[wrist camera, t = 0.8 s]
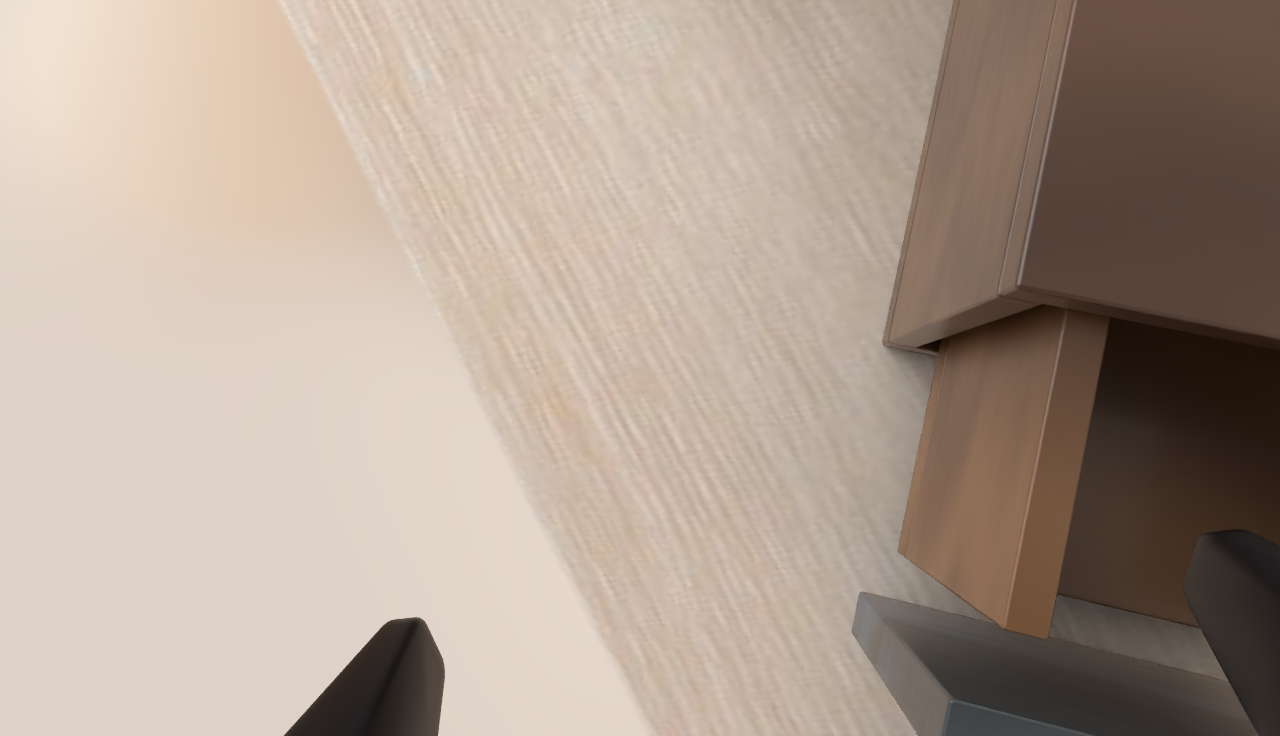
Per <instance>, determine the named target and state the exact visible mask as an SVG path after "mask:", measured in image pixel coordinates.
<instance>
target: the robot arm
mask: <svg viewBox="0 0 1280 736" xmlns="http://www.w3.org/2000/svg"><path fill="white" fill-rule="evenodd" d="M1184 594H1185V598H1186V601H1187V604H1188V606H1189V608H1190V610H1191V612H1192V613H1193V615H1194V617H1195V619H1196V621H1197V623H1198V625H1199V627H1200V628H1201V630H1202V632H1203V634H1204V636H1205V638H1206V640H1207V641H1208V643H1209V645H1210V647H1211V649H1212V651H1213V653H1214V655H1215V656H1216V658H1217V660H1218V662H1219V664H1220V666H1221V668H1222V670H1223V671H1224V673H1225V675H1226V677H1227V679H1228V681H1229V683H1230V684H1231V686H1232V688H1233V690H1234V692H1235V694H1236V696H1237V698H1238V699H1239V701H1240V703H1241V705H1242V707H1243V709H1244V711H1245V712H1246V714H1247V716H1248V718H1249V720H1250V721H1251V723H1252V725H1253V727H1254V728H1255V730H1256V732H1257V734H1258V735H1259V736H1280V546H1279V545H1277V544H1275V543H1273V542H1271V541H1269V540H1267V539H1265V538H1263V537H1261V536H1259V535H1257V534H1255V533H1252V532H1250V531H1247V530H1241V529H1235V530H1225V531H1216V532H1208V533H1205V534H1203V535H1202V536H1201V537H1200V538H1199V539H1198V541H1197V543H1196V546H1195V549H1194V552H1193V555H1192V558H1191V562H1190V565H1189V568H1188V571H1187V574H1186V577H1185V581H1184ZM444 678H445V668H444V662H443V659H442V656H441V654H440V652H439V650H438V647H437V645H436V643H435V641H434V639H433V637H432V635H431V633H430V631H429V629H428V626H427V624H426V623H425V621H424V620H422V619H421V618H417V617H415V618H406V619H396V620H391V621H389V622H387V623H386V624H385V625H383V627H381V629H380V630H379V631H378V632H377V633H376V634H375V635H374V636H373V638H371V640H370V641H369V642H368V643H367V644H366V645H365V646H364V647H363V648H362V650H361V651H360V652H359V653H358V654H357V655H356V656H355V657H354V658H353V660H352V661H351V662H350V663H349V664H348V665H347V666H346V667H345V669H344V670H343V671H342V672H341V673H340V674H339V675H338V676H337V677H336V678H335V680H334V681H333V682H332V683H331V684H330V685H329V686H328V687H327V688H326V690H325V691H324V692H323V693H322V694H321V695H320V696H319V697H318V698H317V700H316V701H315V702H314V703H313V704H312V705H311V706H310V708H308V709H307V711H306V712H305V713H304V714H303V715H302V716H301V717H300V719H298V721H297V722H296V723H295V724H294V725H293V726H292V727H291V729H289V731H288V732H287V733H286V734H285V735H284V736H438V730H439V721H440V713H441V704H442V696H443V688H444Z"/></svg>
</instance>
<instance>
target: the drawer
mask: <svg viewBox="0 0 1280 736" xmlns="http://www.w3.org/2000/svg"><path fill="white" fill-rule="evenodd" d="M1235 529H1241V530H1247V531H1250V532H1252V533H1255V534H1257V535H1259V536H1261V537H1263V538H1265V539H1267V540H1269V541H1271V542H1273V543H1275V544H1277V545H1279V546H1280V350H1276V349H1271V348H1266V347H1261V346H1255V345H1250V344H1245V343H1240V342H1235V341H1230V340H1225V339H1220V338H1215V337H1210V336H1204V335H1199V334H1194V333H1189V332H1184V331H1179V330H1174V329H1169V328H1164V327H1158V326H1153V325H1148V324H1143V323H1138V322H1133V321H1128V320H1123V319H1118V318H1113V317H1107V316H1102V315H1097V314H1092V313H1087V312H1082V311H1077V310H1072V309H1067V308H1061V307H1056V306H1051V305H1046V304H1041V305H1038V306H1036V307H1033V308H1030V309H1027V310H1024V311H1021V312H1018V313H1015V314H1012V315H1009V316H1006V317H1003V318H1000V319H998V320H995V321H992V322H989V323H986V324H983V325H980V326H977V327H974V328H971V329H968V330H965V331H962V332H960V333H957V334H954V335H951V336H948V337H945V338H942V339H941V342H940V347H939V352H938V357H937V362H936V367H935V372H934V376H933V381H932V386H931V391H930V396H929V401H928V406H927V410H926V415H925V420H924V425H923V430H922V435H921V440H920V444H919V449H918V454H917V459H916V464H915V469H914V474H913V478H912V483H911V488H910V493H909V498H908V503H907V508H906V513H905V517H904V522H903V527H902V532H901V537H900V542H899V547H898V553H900V554H901V555H902V556H904V557H905V558H907V559H908V560H910V561H911V562H912V563H914V564H915V565H916V566H918V567H919V568H920V569H922V570H923V571H925V572H926V573H927V574H929V575H930V576H931V577H933V578H934V579H936V580H937V581H938V582H940V583H941V584H942V585H944V586H945V587H946V588H948V589H949V590H951V591H952V592H953V593H955V594H956V595H957V596H959V597H960V598H962V599H963V600H964V601H966V602H967V603H968V604H970V605H971V606H972V607H974V608H975V609H977V610H978V611H979V612H981V613H982V614H983V615H985V616H986V617H987V618H989V619H990V620H992V621H993V622H994V623H996V624H993V623H989V622H984V621H980V620H976V619H972V618H968V617H964V616H960V615H956V614H952V613H948V612H944V611H940V610H936V609H932V608H928V607H923V606H919V605H915V604H911V603H907V602H903V601H899V600H895V599H891V598H887V597H883V596H879V595H875V594H871V593H867V592H860V594H859V598H858V602H857V607H856V612H855V617H854V622H853V627H852V633H853V635H854V636H855V638H856V640H857V641H858V643H859V644H860V646H861V647H862V649H863V650H864V652H865V654H866V655H867V657H868V658H869V660H870V661H871V663H872V664H873V666H874V667H875V669H876V671H877V672H878V674H879V675H880V677H881V678H882V680H883V681H884V683H885V685H886V686H887V688H888V689H889V691H890V692H891V694H892V695H893V697H894V699H895V700H896V702H897V703H898V705H899V706H900V708H901V709H902V711H903V712H904V714H905V716H906V717H907V719H908V720H909V722H910V723H911V725H912V726H913V728H914V730H915V731H916V733H917V734H918V736H1259V735H1258V734H1257V732H1256V730H1255V728H1254V727H1253V725H1252V723H1251V721H1250V720H1249V718H1248V716H1247V714H1246V712H1245V711H1244V709H1243V707H1242V705H1241V703H1240V701H1239V699H1238V698H1237V696H1236V694H1235V692H1234V690H1233V688H1232V686H1231V684H1230V683H1229V682H1228V681H1224V680H1220V679H1216V678H1212V677H1208V676H1204V675H1200V674H1196V673H1192V672H1188V671H1184V670H1180V669H1176V668H1171V667H1167V666H1163V665H1159V664H1155V663H1151V662H1147V661H1143V660H1139V659H1135V658H1131V657H1127V656H1123V655H1119V654H1115V653H1110V652H1106V651H1102V650H1098V649H1094V648H1090V647H1086V646H1082V645H1078V644H1074V643H1070V642H1066V641H1062V640H1058V639H1054V638H1049V632H1050V627H1051V621H1052V616H1053V611H1054V606H1055V601H1056V596H1057V594H1058V595H1063V596H1067V597H1071V598H1075V599H1079V600H1083V601H1088V602H1092V603H1096V604H1100V605H1104V606H1109V607H1113V608H1117V609H1121V610H1125V611H1129V612H1134V613H1138V614H1142V615H1146V616H1150V617H1154V618H1159V619H1163V620H1167V621H1171V622H1175V623H1180V624H1184V625H1188V626H1192V627H1196V628H1200V627H1199V625H1198V623H1197V621H1196V619H1195V617H1194V615H1193V613H1192V612H1191V610H1190V608H1189V606H1188V604H1187V601H1186V598H1185V594H1184V581H1185V577H1186V574H1187V571H1188V568H1189V565H1190V562H1191V558H1192V555H1193V552H1194V549H1195V546H1196V543H1197V541H1198V539H1199V538H1200V537H1201V536H1202V535H1203V534H1205V533H1208V532H1216V531H1225V530H1235ZM1200 629H1201V628H1200Z"/></svg>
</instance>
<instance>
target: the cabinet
mask: <svg viewBox="0 0 1280 736" xmlns="http://www.w3.org/2000/svg"><path fill="white" fill-rule="evenodd" d="M1041 304H1046V305H1051V306H1056V307H1061V308H1067V309H1072V310H1077V311H1082V312H1087V313H1092V314H1097V315H1102V316H1107V317H1113V318H1118V319H1123V320H1128V321H1133V322H1138V323H1143V324H1148V325H1153V326H1158V327H1164V328H1169V329H1174V330H1179V331H1184V332H1189V333H1194V334H1199V335H1204V336H1210V337H1215V338H1220V339H1225V340H1230V341H1235V342H1240V343H1245V344H1250V345H1255V346H1261V347H1266V348H1271V349H1276V350H1280V0H954V2H953V7H952V12H951V17H950V22H949V26H948V31H947V36H946V41H945V45H944V50H943V55H942V60H941V65H940V69H939V74H938V79H937V84H936V88H935V93H934V98H933V103H932V108H931V112H930V117H929V122H928V127H927V131H926V136H925V141H924V146H923V151H922V155H921V160H920V165H919V170H918V174H917V179H916V184H915V189H914V194H913V198H912V203H911V208H910V213H909V217H908V222H907V227H906V232H905V237H904V241H903V246H902V251H901V256H900V260H899V265H898V270H897V275H896V280H895V284H894V289H893V294H892V299H891V303H890V308H889V313H888V318H887V323H886V327H885V332H884V337H883V342H882V343H883V345H885V346H889V347H894V348H899V349H904V350H908V351H913V352H918V353H923V354H928V355H933V356H937V357H938V352H939V347H940V342H941V339H942V338H945V337H948V336H951V335H954V334H957V333H960V332H962V331H965V330H968V329H971V328H974V327H977V326H980V325H983V324H986V323H989V322H992V321H995V320H998V319H1000V318H1003V317H1006V316H1009V315H1012V314H1015V313H1018V312H1021V311H1024V310H1027V309H1030V308H1033V307H1036V306H1038V305H1041Z"/></svg>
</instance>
